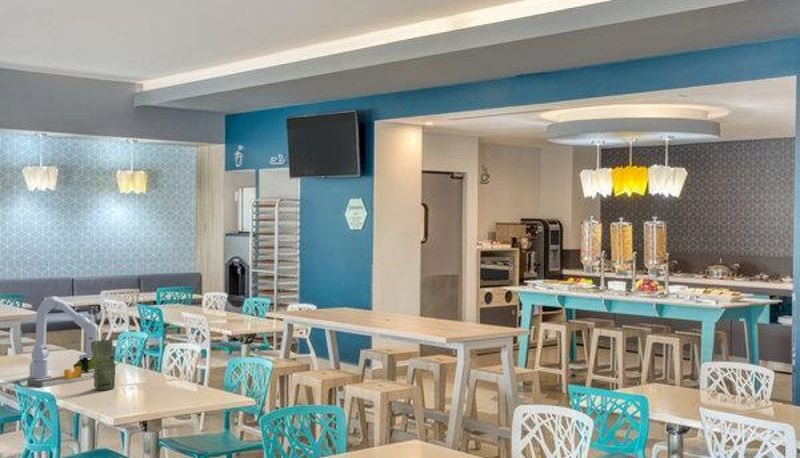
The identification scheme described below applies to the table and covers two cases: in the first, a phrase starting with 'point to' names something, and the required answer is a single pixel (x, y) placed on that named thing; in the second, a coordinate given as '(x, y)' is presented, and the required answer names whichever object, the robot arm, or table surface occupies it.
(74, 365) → the decorative plant
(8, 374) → the table surface
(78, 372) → the pipe clamp
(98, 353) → the pouch
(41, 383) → the rail
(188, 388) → the table surface
